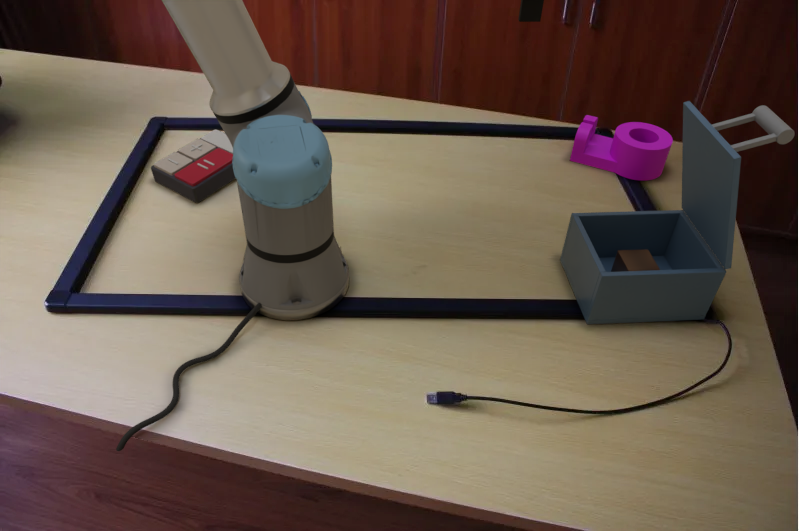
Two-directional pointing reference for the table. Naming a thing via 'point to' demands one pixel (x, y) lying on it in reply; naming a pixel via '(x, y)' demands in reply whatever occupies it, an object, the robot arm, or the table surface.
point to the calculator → (197, 167)
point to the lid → (719, 173)
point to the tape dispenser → (623, 149)
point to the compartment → (640, 290)
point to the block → (634, 261)
